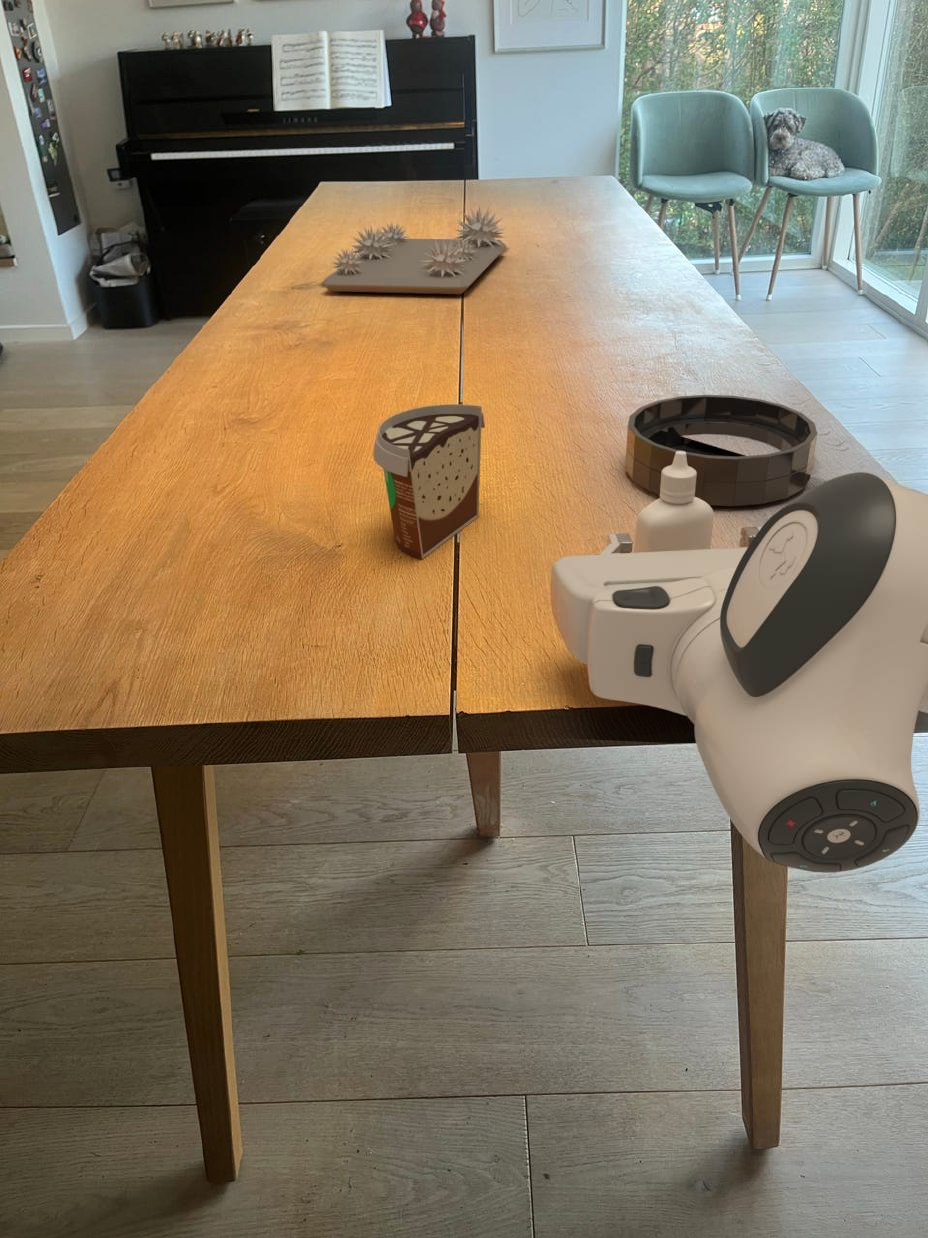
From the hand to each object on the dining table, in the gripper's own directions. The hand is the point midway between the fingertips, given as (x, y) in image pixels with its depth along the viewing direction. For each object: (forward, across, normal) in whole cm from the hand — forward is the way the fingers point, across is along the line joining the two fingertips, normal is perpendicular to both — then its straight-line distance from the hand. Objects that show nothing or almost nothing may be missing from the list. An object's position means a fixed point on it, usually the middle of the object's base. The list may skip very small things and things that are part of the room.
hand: (683, 539), depth 69 cm
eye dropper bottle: (+2, 0, +7) cm, 7 cm away
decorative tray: (+122, +18, +7) cm, 123 cm away
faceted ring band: (+26, -10, +7) cm, 29 cm away
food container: (+17, +19, +7) cm, 26 cm away
